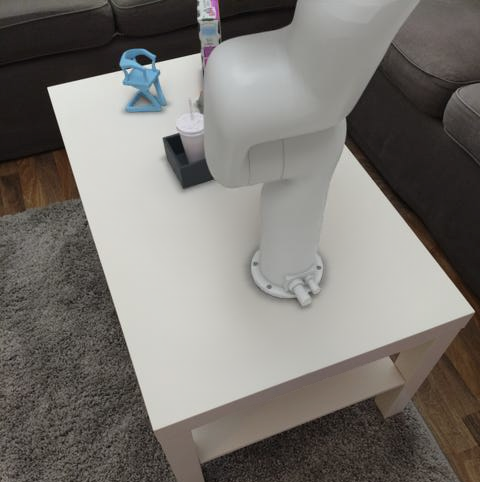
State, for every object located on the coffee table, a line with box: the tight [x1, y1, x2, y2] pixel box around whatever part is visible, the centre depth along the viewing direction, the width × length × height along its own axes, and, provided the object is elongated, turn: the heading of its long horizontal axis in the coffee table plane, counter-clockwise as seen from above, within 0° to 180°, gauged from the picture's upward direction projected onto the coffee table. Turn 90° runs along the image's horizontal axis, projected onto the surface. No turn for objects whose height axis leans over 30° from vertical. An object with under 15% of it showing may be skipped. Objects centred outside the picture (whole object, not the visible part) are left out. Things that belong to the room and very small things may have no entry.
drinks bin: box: [161, 132, 215, 190], centre depth 91 cm, size 11×11×5 cm
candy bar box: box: [196, 0, 222, 81], centre depth 103 cm, size 11×5×16 cm, turn 3°
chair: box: [119, 48, 167, 113], centre depth 100 cm, size 8×8×12 cm
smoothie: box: [175, 97, 206, 164], centre depth 87 cm, size 6×6×14 cm
